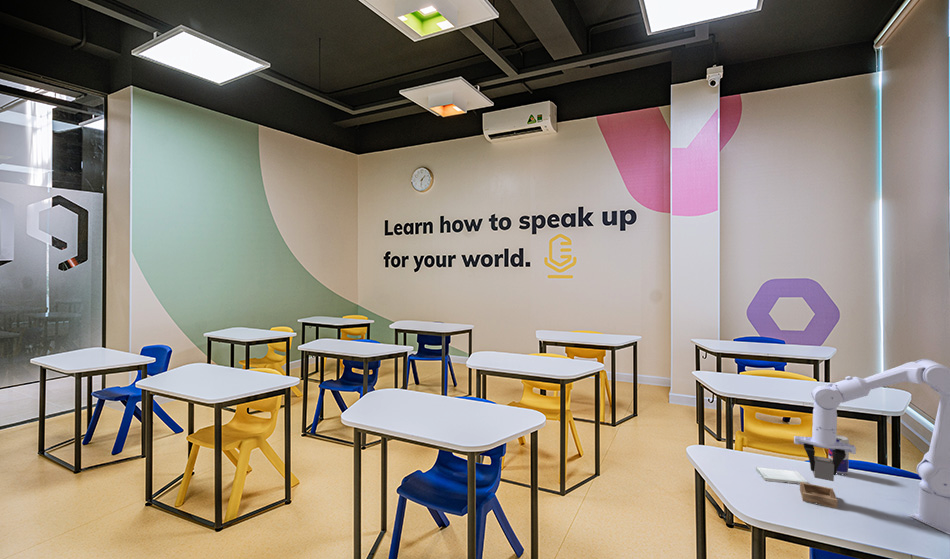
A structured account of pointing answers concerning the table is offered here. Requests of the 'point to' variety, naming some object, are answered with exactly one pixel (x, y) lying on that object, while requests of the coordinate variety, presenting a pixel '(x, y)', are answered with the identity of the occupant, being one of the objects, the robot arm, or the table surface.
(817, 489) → the wooden tray
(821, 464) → the block
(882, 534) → the table surface
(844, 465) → the energy drink
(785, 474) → the hard drive
